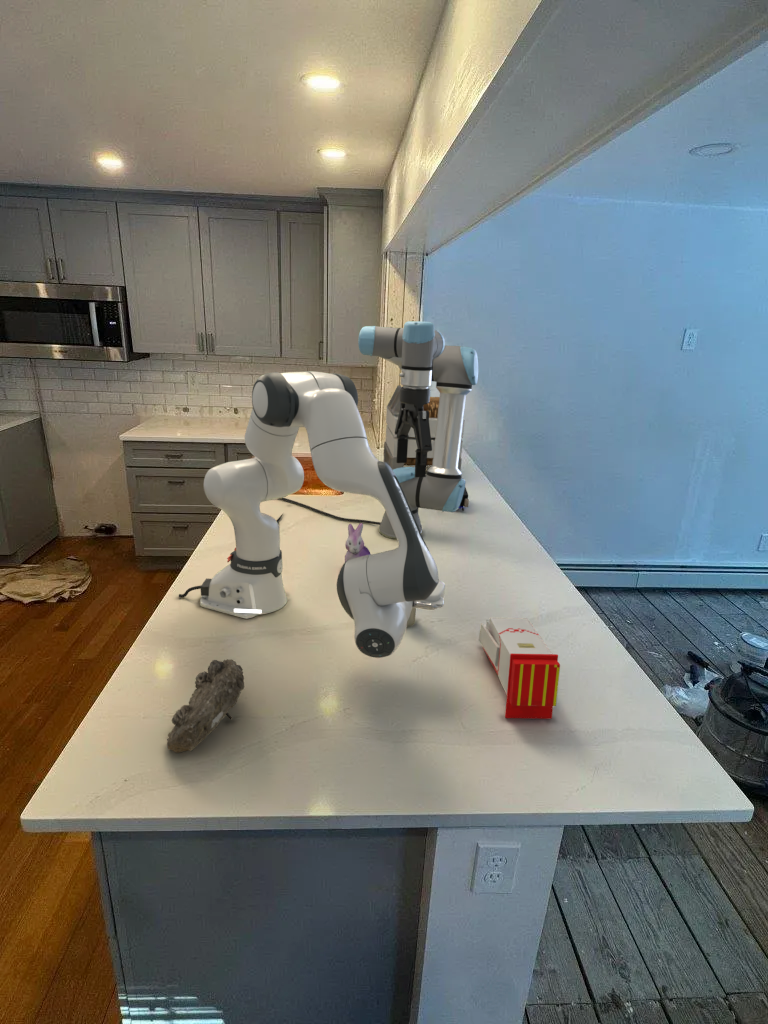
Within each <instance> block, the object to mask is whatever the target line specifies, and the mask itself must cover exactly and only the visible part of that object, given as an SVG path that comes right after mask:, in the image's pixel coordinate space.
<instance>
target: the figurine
mask: <svg viewBox="0 0 768 1024" xmlns="http://www.w3.org/2000/svg"><path fill="white" fill-rule="evenodd" d="M363 530H364V523H362V522H359V524H357V527H356V528H354V526H353V525H352V523H349V524H347V534H348V536H347V538H346V539H345V544H344V545H345V549H346V550H347V551H346V553H345V555H344V563H345V562H346V561H347V560H350V559H353V558H357V557H361V556H366V555H370V554H371V551H370V549H369V548H368V547H367V546H366V545H365V541H364V539H363V537H362V533H363Z"/></svg>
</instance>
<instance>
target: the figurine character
mask: <svg viewBox="0 0 768 1024" xmlns="http://www.w3.org/2000/svg"><path fill="white" fill-rule="evenodd" d="M469 505H470V500H469V492H468V490H467V488H466V486H465V489H464V494H463V497H462V500H461V503H460V506H459V508H458V509H461V511H462V512H464V511H465V508H469ZM458 509H457V510H456V511H455V512H457V511H458Z"/></svg>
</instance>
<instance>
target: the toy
mask: <svg viewBox="0 0 768 1024" xmlns="http://www.w3.org/2000/svg"><path fill="white" fill-rule="evenodd" d="M478 642H479V644H480V645H481V647H482V649H483V651H484V653H485V655H486V656H487V659H488V661H489V662H490V664H491V666H492V667H493V669H494V671H495V673H496V675H497V678H498V679H499V682H500V684H501V686H502V688H503V690H504V692H505V694H506V695H505V696H506V701H505V711H504V717H505V719H535V720H536V719H537V720H538V719H539V720H540V719H541V720H552V719H553V710H554V707H556V706H557V699H558V691H559V682H560V681H559V679H560V670H561V664H560V662H559V655H558V654H555V653H552V651H551V649H550V648H549V647H548V645H547V643H545V641H544V640H543V638H542V637H541V636H540V634H539V633H538V631H537V630H536V628H535V626H534V625H533V623H532V622H531V621H530V620H529V618H528V617H493V616H492V617H489V619H486V623H485V624H484V623H482V622H481V623H480V627H479V635H478Z"/></svg>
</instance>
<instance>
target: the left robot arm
mask: <svg viewBox="0 0 768 1024" xmlns="http://www.w3.org/2000/svg"><path fill="white" fill-rule="evenodd" d="M251 404H252V409H251V412H250V416H249V419H248V423H247V425H246V430H245V434H244V442H245V447H246V448H247V450H248V452H249V453H250V454H251V455H253V457H252V458H246V459H240V460H233V461H227V462H224V463H221V464H219V465H216V466H214V467H211V468H209V469H208V470H207V472H206V473H205V476H204V478H203V491H204V495H205V496H206V498H207V500H208V501H209V502H210V503H211V505H213V506H214V507H216V508H218V509H220V510H221V511H222V512H223V513H225V514H226V515H227V517H229V520H230V522H231V524H232V526H233V531H234V540H235V548H234V549H233V551H232V552H231V553H230V554H229V556H228V557H227V558H226V559H227V561H226V562H227V563H229V562H230V563H229V564H228V565H226V566H225V567H223V568H222V569H220V570H219V571H218V572H217V573H215V574H214V575H213V577H212V578H205V580H204V581H203V582H202V584H200V585H195V586H192V587H190V588H187V589H186V590H185V591H184V593H179V594H178V598H180V599H181V598H182V599H183V598H185V597H187V595H188V594H189V593H191V592H192V591H196V590H200V600H199V606H200V607H201V608H205V609H208V610H212V611H216V612H220V613H223V614H227V615H230V616H235V617H238V618H242V619H251V618H254V617H257V616H259V615H265V614H270V613H274V612H276V611H279V610H281V609H282V608H284V607H285V605H286V604H288V603H287V602H288V596H287V594H286V590H285V587H284V586H285V585H284V581H283V574H282V573H283V551H282V550H281V533H280V531H281V529H280V528H281V527H280V525H279V522H278V523H277V519H276V518H275V517H273V516H272V515H269V514H267V513H264V512H262V511H261V507H260V506H261V503H264V502H269V501H274V500H280V499H279V498H286V497H289V496H290V495H293V494H295V493H296V492H299V491H300V490H301V489H302V487H303V485H304V481H305V472H304V467H303V466H302V464H301V462H300V461H299V460H298V458H297V457H295V456H293V449H294V445H295V442H296V438H297V435H298V432H299V430H300V428H304V429H305V430H306V433H307V440H308V446H309V453H310V456H311V461H312V465H313V468H314V472H315V474H316V476H317V478H318V479H319V480H320V482H321V483H323V484H324V485H325V486H326V487H328V488H329V489H332V490H334V491H336V492H341V493H345V494H346V493H347V494H353V495H360V496H361V495H363V496H368V497H371V498H373V499H375V500H377V501H378V503H380V504H381V505H382V507H383V509H384V512H385V511H386V513H387V516H388V518H389V521H390V523H391V526H392V528H393V530H394V533H395V535H396V538H397V540H396V541H397V542H398V546H397V547H396V548H394V549H389V550H384V551H380V552H377V553H372V554H371V553H370V555H366V556H361V557H357V558H353V559H350V560H347V561H346V562H345V561H344V563H343V564H342V566H341V568H340V570H339V573H338V576H337V580H336V593H337V596H338V600H339V603H340V605H341V606H342V608H343V610H344V611H345V613H346V614H347V615H348V616H349V617H350V619H352V620H353V622H354V635H353V636H354V643H355V646H356V648H357V649H358V650H359V652H361V653H362V654H363V655H365V656H367V657H370V658H376V659H379V658H381V659H382V658H387V657H389V656H390V655H392V654H394V653H395V652H396V650H397V649H398V648H399V647H400V646H401V643H402V641H403V639H404V636H405V634H406V631H407V621H408V619H409V617H410V614H411V611H412V607H413V608H416V609H419V610H426V611H435V610H437V609H441V608H443V607H444V605H445V604H444V603H445V600H444V597H445V593H446V592H445V591H446V584H445V582H443V581H442V580H440V577H439V569H438V566H437V563H436V560H435V558H434V557H433V555H432V553H431V551H430V549H429V547H428V545H427V542H426V541H425V539H424V537H423V534H422V535H421V532H420V530H419V527H418V525H417V523H416V520H415V518H414V515H413V513H412V511H411V508H410V506H409V503H408V501H407V499H406V496H405V494H404V492H403V490H402V487H401V485H400V483H399V481H398V479H397V477H396V475H395V473H394V471H393V470H392V469H391V467H390V466H389V465H388V464H387V463H386V462H384V461H381V460H379V459H378V458H377V457H376V455H375V454H374V453H373V451H372V449H371V447H370V444H369V440H368V436H367V432H366V428H365V425H364V421H363V419H362V415H361V413H360V411H359V408H358V405H359V394H358V389H357V387H356V385H355V383H354V381H353V380H352V379H351V378H350V377H349V376H347V375H344V374H341V373H337V372H331V373H328V372H324V371H323V372H322V371H313V370H304V371H290V372H288V371H287V372H278V371H273V372H269V373H268V372H267V373H264V374H261V375H259V377H258V378H256V381H255V382H254V384H253V387H252V392H251Z"/></svg>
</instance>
